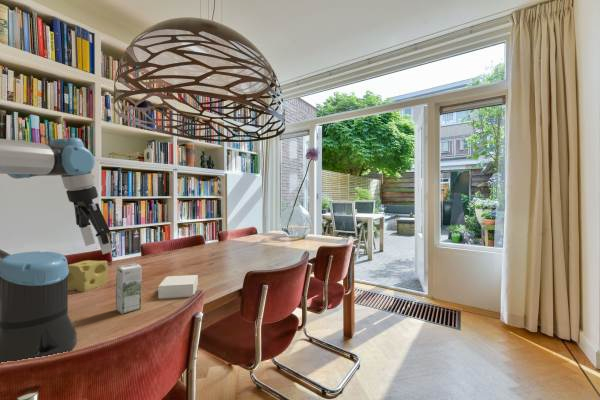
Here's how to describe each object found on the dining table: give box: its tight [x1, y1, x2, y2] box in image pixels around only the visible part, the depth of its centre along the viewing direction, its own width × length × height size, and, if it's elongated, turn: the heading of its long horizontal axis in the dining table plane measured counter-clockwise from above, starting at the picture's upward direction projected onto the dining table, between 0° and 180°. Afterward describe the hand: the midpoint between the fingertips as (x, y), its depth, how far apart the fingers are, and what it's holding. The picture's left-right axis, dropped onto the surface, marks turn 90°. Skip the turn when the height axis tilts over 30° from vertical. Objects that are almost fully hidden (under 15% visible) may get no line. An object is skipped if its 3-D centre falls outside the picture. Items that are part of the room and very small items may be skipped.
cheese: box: [68, 259, 109, 293], centre depth 110 cm, size 10×11×10 cm
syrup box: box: [115, 263, 143, 315], centre depth 89 cm, size 6×6×14 cm
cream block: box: [157, 274, 199, 300], centre depth 106 cm, size 12×12×5 cm
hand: (98, 248), depth 92 cm, fingers open, 13 cm apart
